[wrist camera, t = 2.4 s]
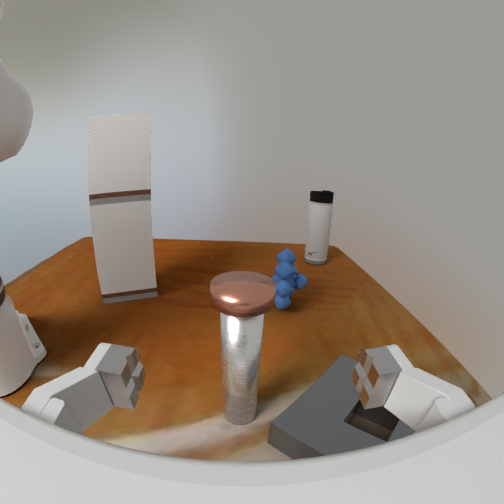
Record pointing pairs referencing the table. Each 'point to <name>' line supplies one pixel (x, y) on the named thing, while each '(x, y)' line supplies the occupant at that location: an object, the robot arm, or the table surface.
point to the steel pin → (241, 337)
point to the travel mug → (318, 227)
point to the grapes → (286, 279)
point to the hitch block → (330, 418)
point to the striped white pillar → (122, 205)
